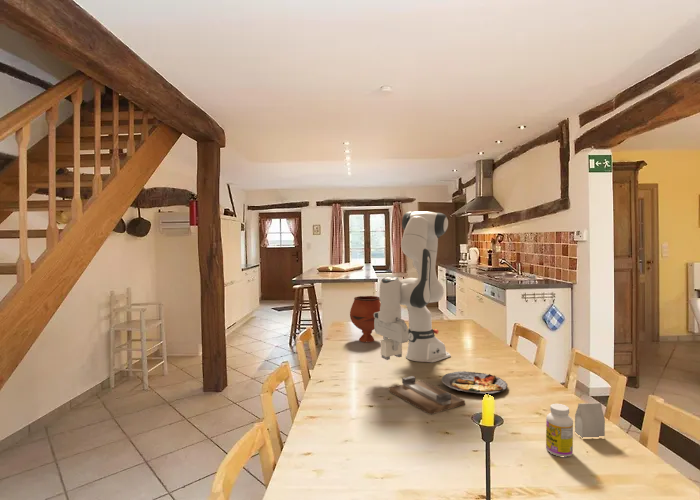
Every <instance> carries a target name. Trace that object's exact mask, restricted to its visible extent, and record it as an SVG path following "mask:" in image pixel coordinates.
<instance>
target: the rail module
mask: <svg viewBox="0 0 700 500" xmlns="http://www.w3.org/2000/svg"><path fill="white" fill-rule="evenodd" d="M392 346H394V340H392V339H389V338H388V339H386V340H384V339H381V340H380V355H381V358H382V359H383V360H386V361H388V360H391V357H393V356H394V357H397V358H402V357H403V356H402V355H403V343H399V345H398V350H397V351H395V350H393V348H392Z"/></svg>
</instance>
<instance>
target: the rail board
mask: <svg viewBox="0 0 700 500" xmlns="http://www.w3.org/2000/svg"><path fill="white" fill-rule="evenodd" d="M401 381H402V384H399V385H394V386H390V387H389V389H388V391H389V393H391V394H392V395H395V396H397V397H399V398H400V399H402V400H404V401H405V402H408V403H409V404H411V405H413V406H414V407H416V408H418V409H419V410H422V412H424V413H426V414H428V415H432V414H433V415H434V414H436V413H441V412H443V411H447V410H450V409H454V408H457V407H460V406H464V405H466V403H465V401H466V400H465V399H463V398H460V397H458V396H456V395H455V394H452V393H450V392H448V391H446V390H443V389H441V388H440V387H437V386H435V385H433V384H432V383H428V382H427V381H425V380H423V379H421V380H420V379H419V380H417V379H416V377H415V376H414V375H411V376H406V377H402V380H401Z"/></svg>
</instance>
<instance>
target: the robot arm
mask: <svg viewBox="0 0 700 500" xmlns="http://www.w3.org/2000/svg"><path fill="white" fill-rule="evenodd" d="M401 220H402V221H401V227H402V229H403V230H404V231H403V234H402V239H401V242H400V248H401V251H402V252H403V254H404V255H405V256H406V257H407V258H409V259H410V260H412V266H413V268H414V269H415V270H416V271H417V277H406V278H402V279H401V280H400V279H399V277H397V276H392V275H391V276H385V277H383V278H381V280H380V284H379V301H380V303H381V306H380V311H379V312H375V313H374V318H375V320H374V328H375V329H374V333H375V334H376V335H380V336H382V340H386V339H392V340H394V346H392V348H393V350H395V351H397V350H398V345H399V343H402V344H404V343H408V345H407V352H406V354H405V358H406V359H408V360H409V361H414V362H426V363H436V362H439V361H441V360H444V359H447V358H450V357H451V353H450V352H448V351H447V349H446V346H445V343H444V342H443V341H441V340H440V339H439V338H438V337H437V336H435V334H436V335H438V334H439V330H438V329H435V328H434V329H433V327H432V325H433V324H432V323H433V322H432V320H433V318H432V317H433V315H432V313H431V311H430V310H429V309H428V307H427V305H428V304H429V303H431V304H432V303H438V302H440V301H441V300H442V298H443V297H444V293H445V292H444V291H445V290H444V286H443V284H442V283H441V282H440V280H439V279H438V276H437V272H436V271H437V269H436V266H437V265H436V263H437V255H438V247H439V243H438V242H439V239H440V238H441V236H443V235H444V234H446V232H447V230H448V227H449V220H448V216H447V215H446V214H444V213H442V212H434V211H427V210H426V211H425V210H424V211H413V210H412V211H407V212H405V213H404V214H403V216H402V219H401ZM402 306H405V307H406V309H407V314H408V324H407V323H406V321H405V320H404V319H402Z"/></svg>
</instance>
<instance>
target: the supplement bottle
mask: <svg viewBox="0 0 700 500" xmlns="http://www.w3.org/2000/svg"><path fill="white" fill-rule="evenodd" d="M549 407H550V408H549V411H550V412H549V413H547V414H546V418H545V419H546V421H545V422H546V423H545V424H546V425H545V426H546V427H545V429H546V431H545V449H546V451H547V452H548V451H549V452H550V453H549V452H548V453H549V454H551V455H552V454H554V455H556V456H555V457H557V456H564V457H563V458H567V457H566V456H570V455H571V456H573V453H574V452H573V449H574V443H573V442H574V441H573V440H574V420H573V419H572V417H571V416H570V415H569V414H570V407H568V405H565V404H561V403H552V404H550V406H549ZM554 455H553V456H554ZM571 456H570V457H571Z"/></svg>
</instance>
